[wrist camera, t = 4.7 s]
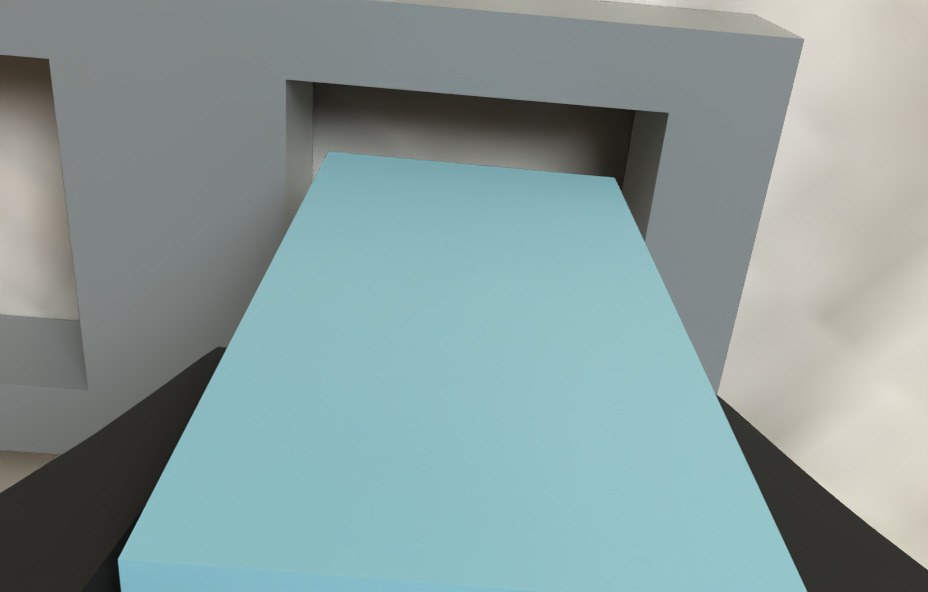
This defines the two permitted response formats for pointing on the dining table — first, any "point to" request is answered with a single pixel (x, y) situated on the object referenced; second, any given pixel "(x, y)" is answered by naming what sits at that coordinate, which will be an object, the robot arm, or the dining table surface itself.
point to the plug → (458, 407)
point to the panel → (291, 150)
